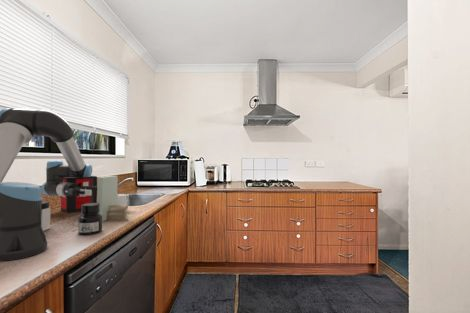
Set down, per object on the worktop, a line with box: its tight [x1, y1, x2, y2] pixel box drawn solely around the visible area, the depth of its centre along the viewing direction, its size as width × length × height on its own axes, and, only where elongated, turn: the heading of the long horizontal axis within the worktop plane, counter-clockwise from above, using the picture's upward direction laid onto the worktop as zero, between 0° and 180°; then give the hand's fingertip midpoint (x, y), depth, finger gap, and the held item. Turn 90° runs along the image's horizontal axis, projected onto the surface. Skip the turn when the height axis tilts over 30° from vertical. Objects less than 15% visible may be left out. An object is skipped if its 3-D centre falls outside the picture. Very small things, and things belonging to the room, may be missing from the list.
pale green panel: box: [97, 175, 119, 222], centre depth 132 cm, size 11×3×22 cm, turn 167°
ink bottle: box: [77, 203, 103, 236], centre depth 108 cm, size 10×9×12 cm
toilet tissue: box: [117, 193, 127, 206], centre depth 147 cm, size 11×12×10 cm
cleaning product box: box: [60, 175, 98, 214], centre depth 154 cm, size 16×9×20 cm, turn 143°
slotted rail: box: [107, 205, 129, 221], centre depth 132 cm, size 2×22×7 cm, turn 77°
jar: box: [41, 200, 51, 232], centre depth 111 cm, size 9×8×12 cm
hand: (101, 190), depth 134 cm, fingers open, 13 cm apart
